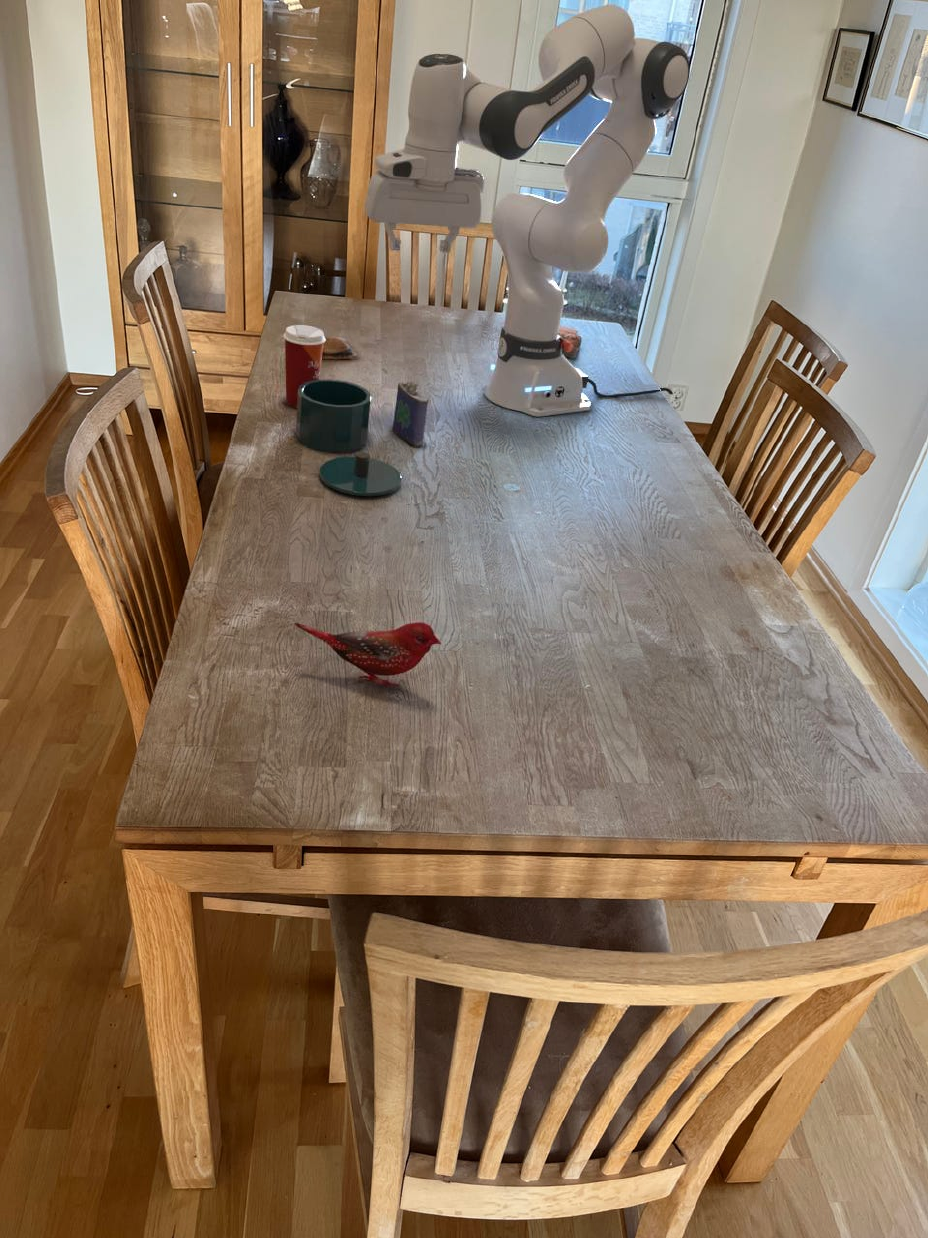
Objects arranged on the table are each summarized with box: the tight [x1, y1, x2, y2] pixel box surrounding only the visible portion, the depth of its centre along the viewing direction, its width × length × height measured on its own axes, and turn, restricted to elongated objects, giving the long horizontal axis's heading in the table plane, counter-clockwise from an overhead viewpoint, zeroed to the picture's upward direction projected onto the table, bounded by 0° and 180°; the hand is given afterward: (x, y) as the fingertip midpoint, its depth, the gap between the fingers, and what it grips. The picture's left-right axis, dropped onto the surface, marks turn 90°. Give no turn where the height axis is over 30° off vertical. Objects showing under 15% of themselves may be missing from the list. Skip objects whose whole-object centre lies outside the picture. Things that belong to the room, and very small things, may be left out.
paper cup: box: [283, 324, 326, 409], centre depth 183 cm, size 8×8×14 cm
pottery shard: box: [558, 325, 583, 359], centre depth 237 cm, size 16×16×4 cm
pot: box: [295, 378, 372, 454], centre depth 173 cm, size 13×13×8 cm
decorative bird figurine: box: [293, 621, 442, 687], centre depth 116 cm, size 3×18×10 cm, turn 80°
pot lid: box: [319, 451, 403, 497], centre depth 162 cm, size 14×14×5 cm
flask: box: [392, 380, 429, 448], centre depth 178 cm, size 9×3×11 cm, turn 31°
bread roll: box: [322, 336, 358, 360], centre depth 211 cm, size 11×8×4 cm
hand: (419, 250), depth 171 cm, fingers open, 8 cm apart
